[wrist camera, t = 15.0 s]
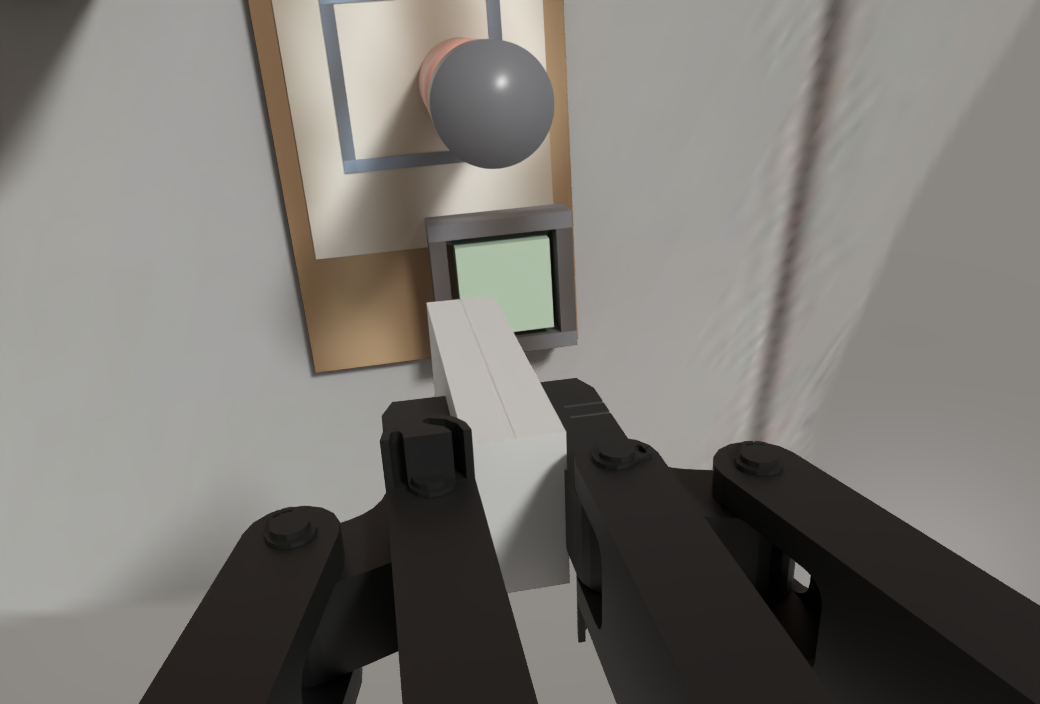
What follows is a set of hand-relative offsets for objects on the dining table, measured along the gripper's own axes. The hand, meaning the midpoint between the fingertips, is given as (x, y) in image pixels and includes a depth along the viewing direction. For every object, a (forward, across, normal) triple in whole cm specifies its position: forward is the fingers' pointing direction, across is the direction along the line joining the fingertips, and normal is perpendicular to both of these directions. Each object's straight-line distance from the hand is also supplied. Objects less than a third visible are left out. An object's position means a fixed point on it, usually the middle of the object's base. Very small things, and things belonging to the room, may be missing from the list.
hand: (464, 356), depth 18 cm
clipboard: (+23, +1, +1) cm, 23 cm away
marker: (+23, +3, +4) cm, 23 cm away
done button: (+22, +4, -5) cm, 23 cm away
